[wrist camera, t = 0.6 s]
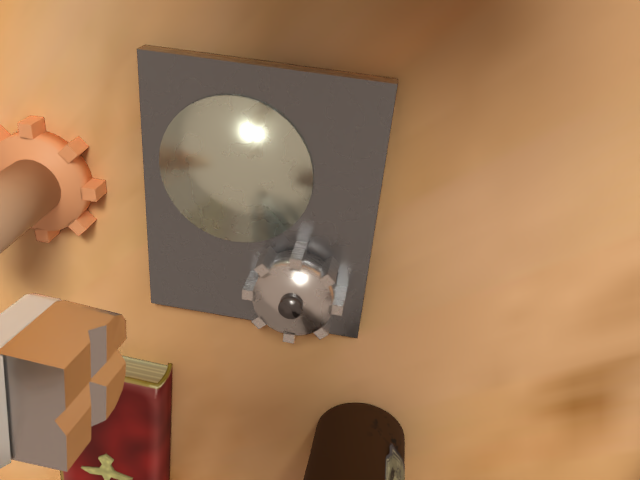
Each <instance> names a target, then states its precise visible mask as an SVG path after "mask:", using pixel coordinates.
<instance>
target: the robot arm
mask: <svg viewBox="0 0 640 480" xmlns="http://www.w3.org/2000/svg"><path fill="white" fill-rule="evenodd" d="M125 340H126V320H125V318H124V317H123V316H122V314H118V313H114V312H110V311H106V310H102V309H98V308H94V307H90V306H86V305H82V304H78V303H74V302H70V301H66V300H61V299H58V298H54V297H49V296H45V295H40V294H36V293H33V294H26V295H24V296H23V297H22V298H20V299H19V300H18V301H16V302H15V303H14V304H12V305H11V306H10V307H9V308H7V309H6V310H5V311H3V312H2V313H1V314H0V468H2V467H4V466H6V465H8V464H9V463H11V459H12V460H17V461H21V462H26V463H30V464H34V465H39V466H43V467H48V468H52V469H57V470H61V471H65V472H67V471H68V470H69V469H70V468H71V466H72V465H73V464H74V462H75V461H76V460H77V458H78V457H79V456H80V454H81V453H82V452H83V450H84V449H85V448H86V446H87V445H88V444H89V442H90V441H91V427H92V426H94V425H96V424H98V423H101V422H103V421H105V420H107V418H108V417H109V415H110V414H111V412H112V411H113V410H114V408H115V407H116V404H117V402H118V400H119V397H120V395H121V392H122V390H123V385H124V380H125V375H126V362H125V360H124V358H123V357H122V355H121V354H120V352H119V351H118V348H119V347H120V346H121V344H122V343H123V342H124V341H125Z"/></svg>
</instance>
